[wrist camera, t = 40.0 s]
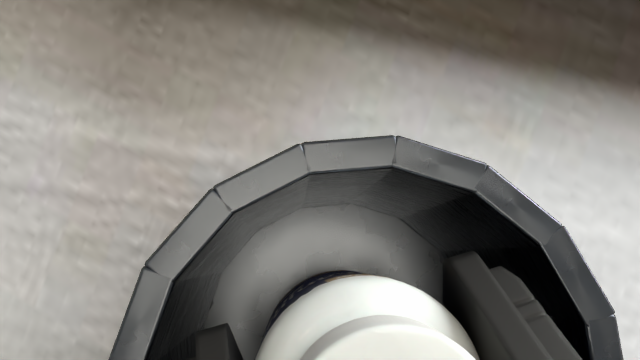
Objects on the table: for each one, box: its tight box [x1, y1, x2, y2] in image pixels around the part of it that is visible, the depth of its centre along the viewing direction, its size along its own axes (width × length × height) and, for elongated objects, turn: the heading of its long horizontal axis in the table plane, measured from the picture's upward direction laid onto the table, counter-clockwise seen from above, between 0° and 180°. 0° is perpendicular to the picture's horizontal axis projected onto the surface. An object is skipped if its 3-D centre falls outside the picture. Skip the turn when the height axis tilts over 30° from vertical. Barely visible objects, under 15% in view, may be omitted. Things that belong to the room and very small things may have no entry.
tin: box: [109, 135, 623, 360], centre depth 15 cm, size 12×12×8 cm
